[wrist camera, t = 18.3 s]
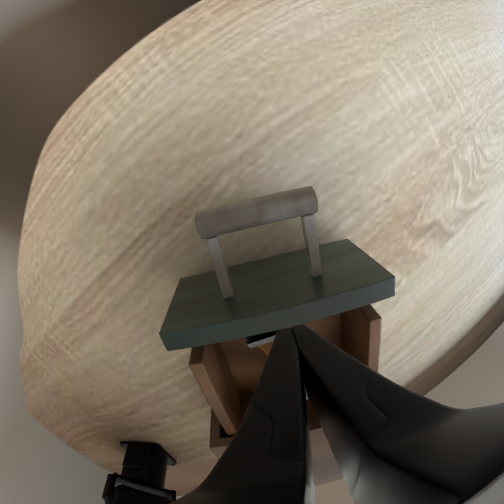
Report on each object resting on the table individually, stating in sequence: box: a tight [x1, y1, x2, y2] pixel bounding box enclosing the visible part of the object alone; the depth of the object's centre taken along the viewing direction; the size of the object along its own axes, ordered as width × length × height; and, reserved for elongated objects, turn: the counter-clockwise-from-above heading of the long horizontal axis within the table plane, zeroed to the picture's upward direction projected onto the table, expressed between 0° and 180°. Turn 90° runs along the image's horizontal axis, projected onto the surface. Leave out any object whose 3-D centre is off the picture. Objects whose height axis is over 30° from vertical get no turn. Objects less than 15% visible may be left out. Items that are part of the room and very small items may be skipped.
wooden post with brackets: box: [246, 330, 308, 400], centre depth 17 cm, size 2×8×4 cm, turn 24°
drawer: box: [159, 186, 395, 438], centre depth 17 cm, size 17×12×7 cm
